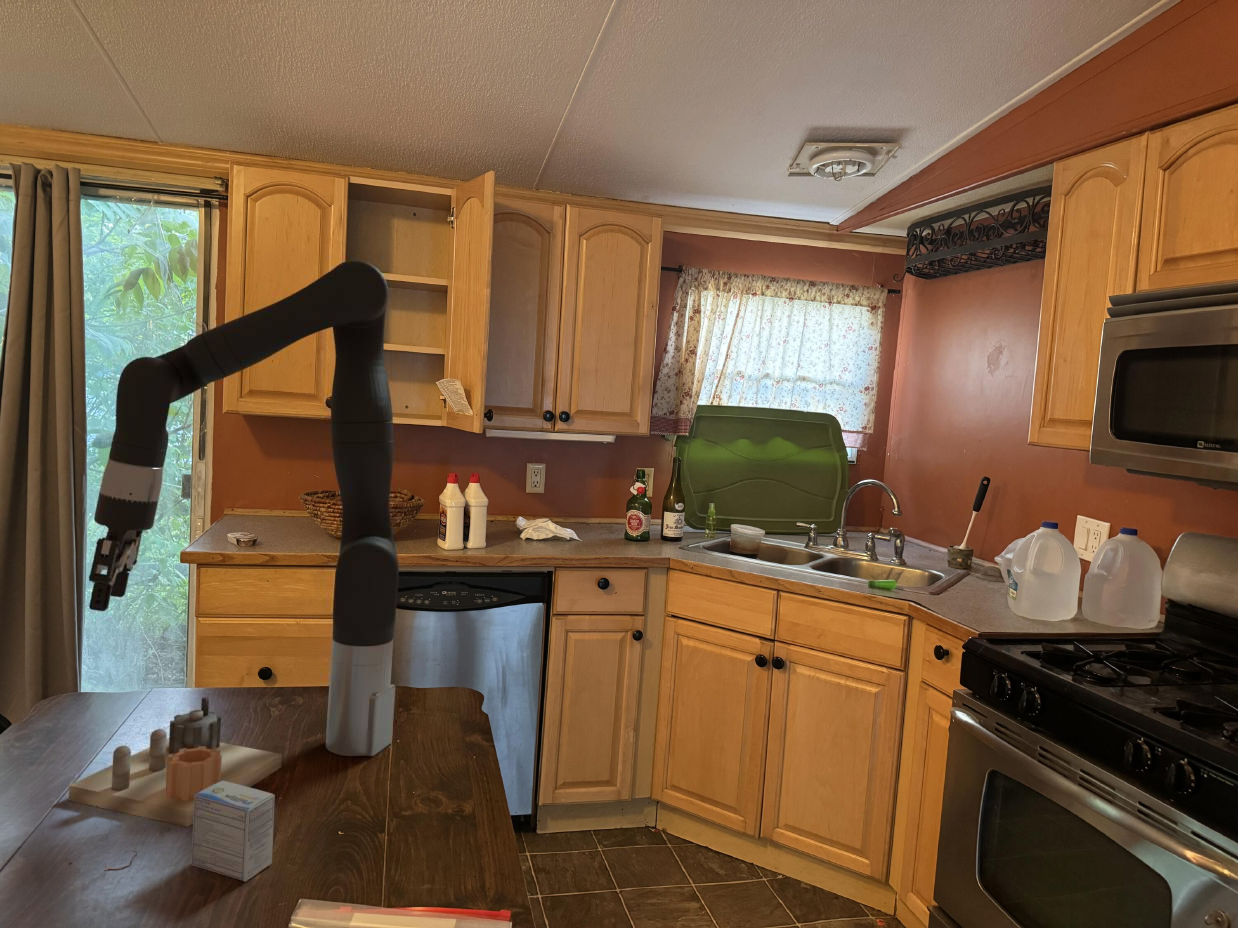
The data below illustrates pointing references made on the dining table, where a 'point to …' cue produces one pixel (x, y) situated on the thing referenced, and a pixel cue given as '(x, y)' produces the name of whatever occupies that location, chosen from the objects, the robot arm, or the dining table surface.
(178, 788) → the loose gear
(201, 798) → the medicine box
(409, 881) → the dining table surface
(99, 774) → the gear board
